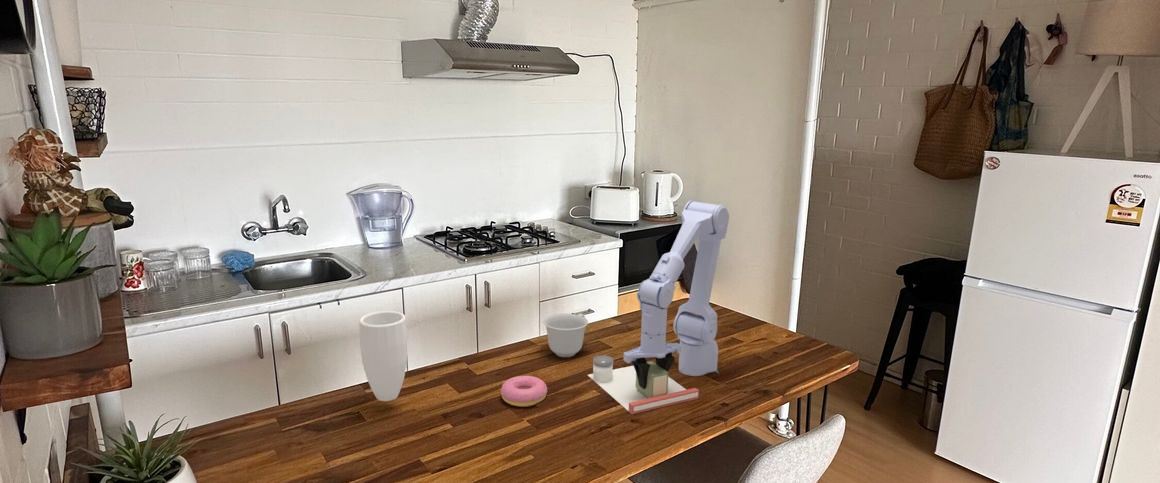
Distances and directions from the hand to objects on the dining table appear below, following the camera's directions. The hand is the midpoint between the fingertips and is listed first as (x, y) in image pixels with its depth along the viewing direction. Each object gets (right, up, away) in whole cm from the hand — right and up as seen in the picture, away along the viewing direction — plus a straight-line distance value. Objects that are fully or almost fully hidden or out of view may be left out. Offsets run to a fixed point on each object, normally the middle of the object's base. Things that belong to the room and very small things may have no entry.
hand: (651, 385), depth 152 cm
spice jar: (-11, 0, +8) cm, 14 cm away
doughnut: (-30, -3, 0) cm, 30 cm away
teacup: (-20, +3, +25) cm, 32 cm away
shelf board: (-2, -2, +5) cm, 5 cm away
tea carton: (0, -2, 0) cm, 2 cm away
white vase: (-60, -4, -6) cm, 60 cm away
